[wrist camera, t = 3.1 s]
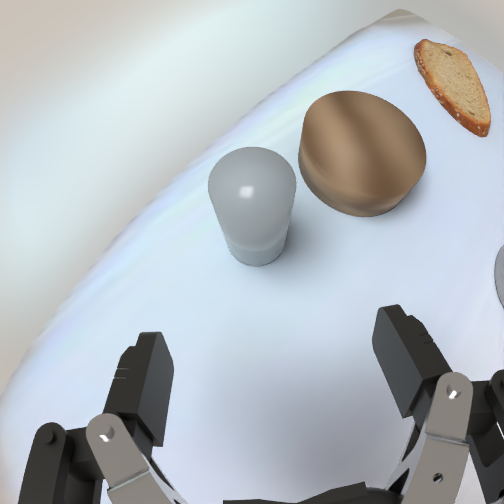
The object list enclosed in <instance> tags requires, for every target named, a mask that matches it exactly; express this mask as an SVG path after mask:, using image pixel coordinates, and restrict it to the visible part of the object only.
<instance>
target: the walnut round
mask: <svg viewBox="0 0 504 504" xmlns="http://www.w3.org/2000/svg"><path fill="white" fill-rule="evenodd" d="M298 162H299V168H300V172H301V174H302V177H303V179H304V181H305V183H306V184H307V186H308V187H309V189H310V190H311V191H312V192H313V193H314V194H315V195H316V196H317V197H318V198H319V199H320V200H321V201H322V202H324V203H325V204H327V205H328V206H330V207H331V208H333V209H335V210H337V211H339V212H342V213H345V214H348V215H352V216H359V217H372V216H378V215H381V214H384V213H386V212H388V211H390V210H391V209H393V208H394V207H395V206H396V205H397V204H398V203H399V202H400V201H401V200H402V199H403V198H404V197H405V195H406V194H407V193H408V192H409V191H410V190H411V188H412V187H413V186H414V185H415V184H416V183H417V181H418V180H419V179H420V177H421V176H422V174H423V172H424V169H425V165H426V149H425V145H424V142H423V139H422V137H421V135H420V133H419V131H418V129H417V128H416V126H415V125H414V124H413V122H412V121H411V120H410V119H409V118H408V117H407V116H406V115H405V114H404V113H403V112H402V111H401V110H400V109H398V108H397V107H395V106H394V105H393V104H391V103H389V102H388V101H386V100H384V99H382V98H380V97H377V96H374V95H372V94H368V93H364V92H359V91H338V92H333V93H330V94H327V95H324V96H323V97H321V98H319V99H318V100H316V101H315V102H314V103H313V104H312V105H311V106H310V107H309V109H308V111H307V112H306V115H305V117H304V123H303V129H302V135H301V141H300V147H299V153H298Z"/></svg>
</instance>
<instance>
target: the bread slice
mask: <svg viewBox="0 0 504 504" xmlns="http://www.w3.org/2000/svg"><path fill="white" fill-rule="evenodd" d="M414 57H415V62H416V65H417V67H418V71H419V72H420V74H421V75H422V76H423V78H424V79H425V82H426V84H427V86H428V87H429V89H430V90H431V92H432V93H433V95H434V96H435V97H436V98H437V100H438V101H439V103H440V104H441V105H442V106H443V107H444V108H445V109H446V110H447V111H448V113H449V114H450V115H451V116H452V117H453V118H454V119H455V120H456V121H457V122H459V123H460V124H461V125H462V126H463V127H465V128H466V129H467V130H469V131H470V132H472V133H473V134H475V135H477V136H479V137H486V136H487V135H488V131H489V128H490V123H491V115H490V108H489V104H488V101H487V97H486V95H485V91H484V89H483V86H482V84H481V82H480V79H479V77H478V75H477V73H476V71H475V69H474V67H473V65H472V63H471V61H470V60H469V59H468V57H467V55H466V54H465V53H463V52H462V51H460V50H458V49H456V48H454V47H450V46H448V45H445V44H440V43H434V42H432V41H429V40H428V39H423V40H421V41H420V42H419V43H417V44H416V45H415V48H414Z"/></svg>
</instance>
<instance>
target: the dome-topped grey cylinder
mask: <svg viewBox="0 0 504 504" xmlns="http://www.w3.org/2000/svg"><path fill="white" fill-rule="evenodd" d="M208 192H209V196H210V199H211V202H212V204H213V207H214V210H215V213H216V215H217V218H218V221H219V224H220V226H221V229H222V232H223V234H224V237H225V240H226V243H227V245H228V248H229V250H230V252H231V254H232V255H233V256H234V257H235V258H236V259H237V260H238V261H239V262H241V263H243V264H246V265H249V266H263V265H266V264H269V263H271V262H272V261H274V260H275V259H276V258H277V257H278V256H279V255H280V254H281V252H282V250H283V248H284V245H285V240H286V236H287V231H288V226H289V221H290V216H291V212H292V207H293V202H294V197H295V192H296V177H295V173H294V171H293V169H292V167H291V166H290V164H289V163H288V162H287V161H286V160H285V159H284V158H283V157H282V156H281V155H279V154H278V153H276V152H274V151H272V150H269V149H266V148H261V147H245V148H241V149H237V150H234V151H232V152H230V153H228V154H227V155H225V156H224V157H222V158H221V159H220V160H219V161H218V162H217V163H216V165H215V166H214V167H213V169H212V171H211V173H210V176H209V181H208Z"/></svg>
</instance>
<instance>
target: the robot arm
mask: <svg viewBox="0 0 504 504" xmlns="http://www.w3.org/2000/svg"><path fill="white" fill-rule="evenodd" d="M495 280H496V287H497V291H498V295H499V298H500V300H501V303H502V305H503V306H504V245H503V247H502V248H501V249H500V251H499V253H498V256H497V259H496V265H495ZM372 345H373V350H374V353H375V355H376V357H377V359H378V362H379V364H380V366H381V368H382V371H383V373H384V375H385V377H386V380H387V382H388V384H389V387H390V389H391V392H392V394H393V396H394V399H395V401H396V404H397V406H398V408H399V411H400V413H401V416H402V418H406V417H409V416H413V418H414V420H415V422H414V423H413V425H412V428H411V431H410V434H409V437H408V440H407V442H406V445H405V448H404V450H403V453H402V455H401V458H400V460H399V463H398V465H397V467H396V469H395V471H394V472H393V474H392V475H391V477H390V479H389V481H388V483H387V485H386V487H385V489H380V488H370V487H369V488H366V485H365V482H361V483H357V484H353V485H349V486H344V487H340V488H335V489H331V490H328V491H326V492H324V493H321V494H319V495H317V496H314V497H312V498H309V499H307V500H304V501H301V502H298V503H286V502H277V501H268V500H261V499H252V500H223V504H454V502H455V499H456V496H457V493H458V490H459V487H460V484H461V480H462V477H463V473H464V470H465V466H466V462H467V458H468V454H469V452H470V455H471V458H472V460H473V463H474V466H475V469H476V472H477V475H478V478H479V482H480V485H481V488H482V491H483V495H484V498H485V502H486V504H504V439H503V437H502V434H501V432H500V430H499V428H498V425H497V422H498V424H499V426H500V428H501V430H502V433H503V435H504V370H499V371H497V372H496V373H495V374H494V375H493V376H492V378H491V380H489V381H470V380H469V379H468V378H467V377H466V376H465V375H463V374H461V373H457V372H453V371H452V370H451V368H450V367H449V365H448V363H447V362H446V360H445V358H444V357H443V355H442V353H441V352H440V350H439V348H438V347H437V345H436V344H435V342H433V339H432V337H431V336H430V334H428V331H427V330H426V328H425V327H424V325H423V324H422V322H420V321H419V320H418V319H416V318H415V317H414V316H412V315H410V316H407V315H406V314H405V312H404V311H403V309H402V308H401V306H400V305H398V304H396V305H391V306H386V307H380V308H379V309H378V312H377V317H376V322H375V327H374V332H373V337H372ZM173 375H174V365H173V360H172V357H171V355H170V352H169V350H168V347H167V345H166V342H165V340H164V337H163V335H162V333H161V332H141V333H140V334H139V337H138V340H137V343H136V346H129V347H128V348H127V350H126V351H125V352H124V353H123V354H122V356H121V358H120V360H119V363H118V366H117V370H116V372H115V375H114V379H113V382H112V385H111V388H110V391H109V394H108V397H107V401H106V404H105V407H104V410H103V413H102V414H100V415H98V416H96V417H94V418H93V419H92V420H91V421H90V422H89V424H88V426H87V427H83V428H77V429H71V430H65V429H64V428H63V427H62V426H61V425H59V424H57V423H54V422H50V423H46V424H44V425H42V426H41V427H40V428H39V429H38V430H37V432H36V434H35V437H34V440H33V444H32V447H31V451H30V454H29V458H28V461H27V465H26V469H25V473H24V477H23V482H22V486H21V491H20V496H19V501H18V504H100V500H101V491H102V483H103V479H106V481H107V483H108V485H109V489H107V494H108V496H109V498H110V500H111V502H112V504H188V503H187V502H186V501H185V499H184V498H183V497H182V496H181V495H180V494H179V493H178V492H177V490H176V489H175V488H174V486H173V485H172V484H171V482H170V481H169V480H168V478H167V477H166V475H165V474H164V473H163V471H162V470H161V468H160V467H159V466H158V464H157V463H156V461H155V460H154V458H153V457H152V448H153V446H157V447H163V441H164V434H165V427H166V420H167V413H168V406H169V400H170V393H171V387H172V381H173ZM465 441H466V442H465Z"/></svg>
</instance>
